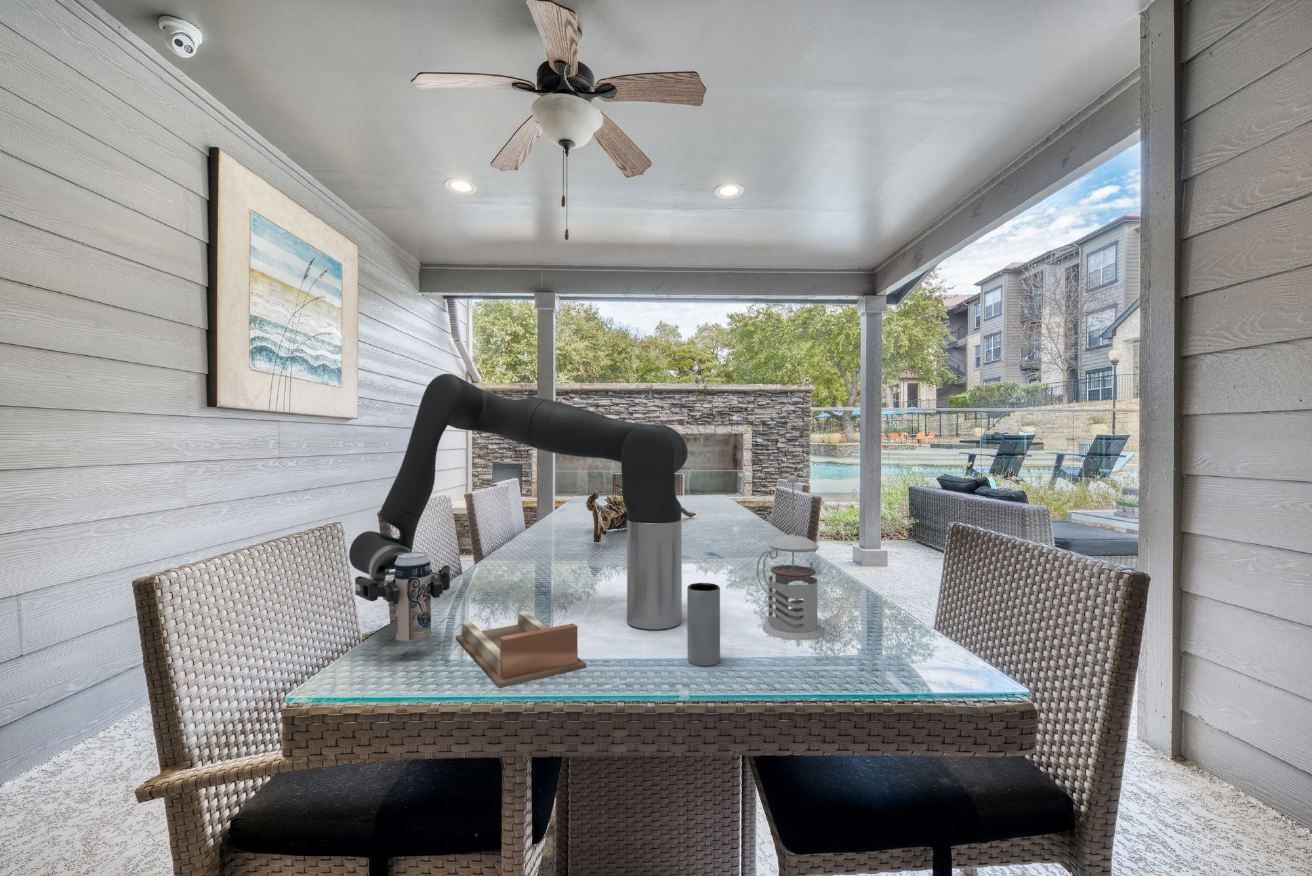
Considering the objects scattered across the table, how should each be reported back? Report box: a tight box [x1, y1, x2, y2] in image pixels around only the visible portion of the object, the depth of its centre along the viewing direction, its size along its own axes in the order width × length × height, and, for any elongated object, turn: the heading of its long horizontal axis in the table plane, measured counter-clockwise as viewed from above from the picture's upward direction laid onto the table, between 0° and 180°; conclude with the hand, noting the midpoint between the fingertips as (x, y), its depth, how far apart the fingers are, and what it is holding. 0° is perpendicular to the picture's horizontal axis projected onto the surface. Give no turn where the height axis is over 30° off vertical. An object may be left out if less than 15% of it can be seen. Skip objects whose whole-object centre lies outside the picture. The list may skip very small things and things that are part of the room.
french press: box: [756, 474, 825, 641], centre depth 96 cm, size 10×12×25 cm
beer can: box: [394, 551, 432, 644], centre depth 84 cm, size 5×5×12 cm
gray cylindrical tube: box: [686, 582, 721, 667], centre depth 82 cm, size 4×4×10 cm
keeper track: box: [455, 610, 587, 688], centre depth 85 cm, size 21×12×6 cm, turn 33°
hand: (417, 593), depth 82 cm, fingers closed on beer can, 4 cm apart
